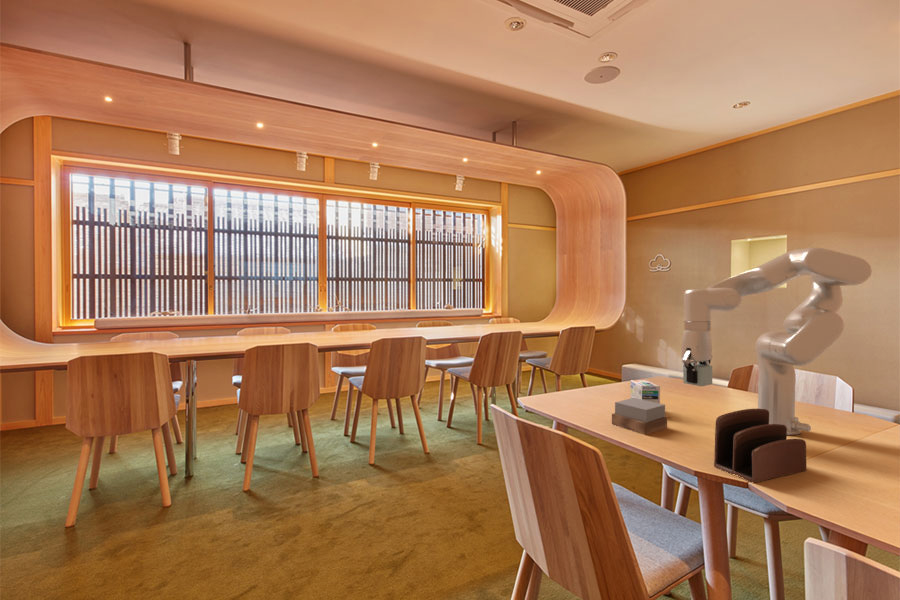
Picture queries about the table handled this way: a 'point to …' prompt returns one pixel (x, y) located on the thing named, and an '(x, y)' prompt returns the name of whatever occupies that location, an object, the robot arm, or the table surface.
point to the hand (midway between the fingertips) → (697, 380)
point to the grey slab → (640, 409)
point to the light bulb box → (645, 390)
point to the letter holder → (756, 446)
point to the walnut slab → (639, 424)
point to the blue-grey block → (700, 375)
